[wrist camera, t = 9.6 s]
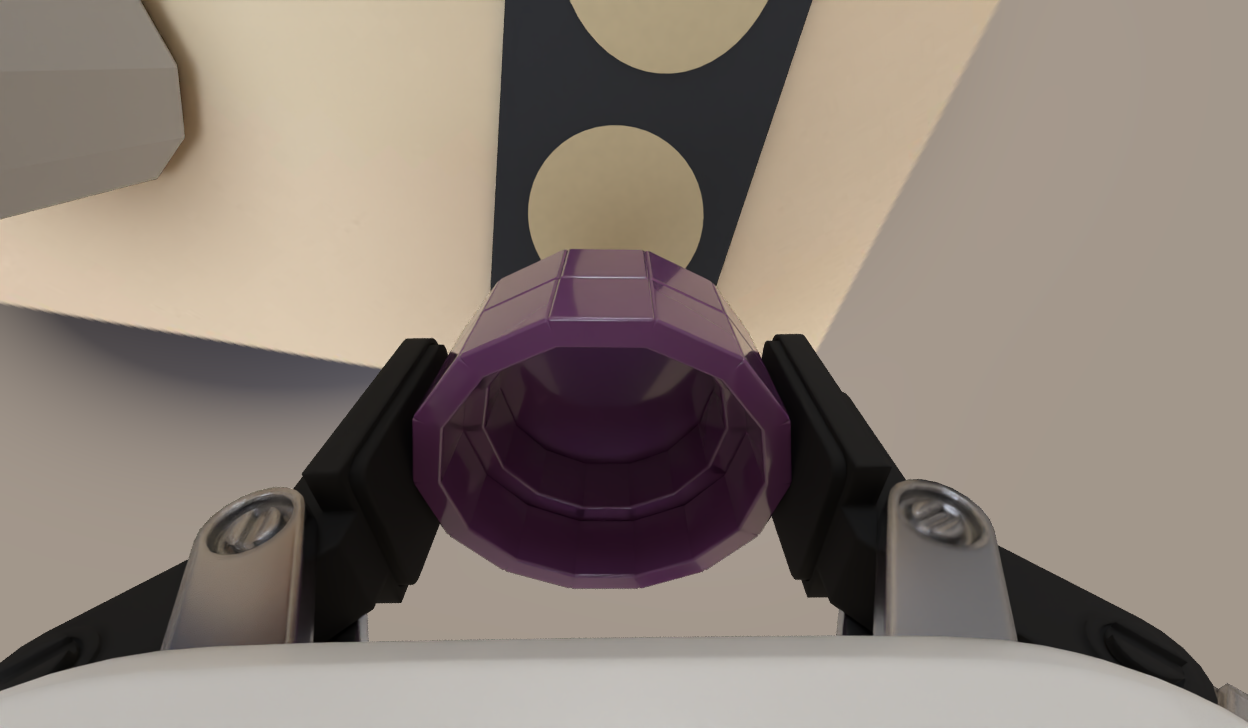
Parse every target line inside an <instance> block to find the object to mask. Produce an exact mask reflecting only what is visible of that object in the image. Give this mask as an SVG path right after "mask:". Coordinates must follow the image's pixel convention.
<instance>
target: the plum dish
mask: <svg viewBox="0 0 1248 728" xmlns="http://www.w3.org/2000/svg"><path fill="white" fill-rule="evenodd" d="M412 461H413V482H414V485H415V487H416V488H417V490H418V491H419V493H420V494H421V496H422V497H423V499H424V500H425V502H426V503H427V505H428V506H429V508H430V509H431V511H432V512H433V514H434V515H435V517H436V518H437V520H438V521H439V523H440V524H441V526H442V527H443V529H444V530H445V532H446V533H447V534H449V535H450V537H452V538H453V539H455V540H456V541H458V542H460V543H461V544H463V545H464V546H466V547H467V548H469V549H471V550H472V551H474V552H475V553H477V554H478V555H480V556H482V557H483V558H485V559H486V560H488V561H489V562H491V563H493V564H494V565H496V566H497V567H499V568H500V569H502V570H505V571H507V572H510V573H514V574H517V575H521V576H525V577H529V578H532V579H536V580H540V581H543V582H547V583H551V584H555V585H558V586H562V587H566V588H572V589H637V588H645V587H649V586H652V585H656V584H660V583H663V582H667V581H671V580H674V579H678V578H682V577H685V576H689V575H693V574H696V573H700V572H703V571H704V570H707V569H709V568H710V567H712V566H713V565H715V564H716V563H718V562H720V561H721V560H723V559H724V558H726V557H727V556H729V555H730V554H732V553H733V552H735V551H736V550H738V549H739V548H741V547H742V546H744V545H745V544H747V543H749V542H750V541H752V540H753V539H755V538H756V537H757V536H758V535H759V534H760V533H761V532H762V530H763V529H764V527H765V525H766V524H767V522H768V521H769V519H770V518H771V516H772V514H773V513H774V511H775V510H776V508H777V507H778V505H779V503H780V502H781V500H782V499H783V497H784V495H785V494H786V492H787V491H788V489H789V488H790V486H791V482H792V449H791V421H790V419H789V415H788V413H787V411H786V409H785V407H784V405H783V403H782V401H781V398H780V396H779V394H778V392H777V390H776V388H775V386H774V384H773V382H772V380H771V378H770V375H769V373H768V371H767V370H766V368H765V365H764V363H763V361H762V359H761V357H760V355H759V352H758V350H757V348H756V346H755V344H754V342H753V340H752V338H751V336H750V334H749V332H748V330H747V329H746V328H745V326H744V325H743V323H742V322H741V321H740V319H739V318H738V316H737V315H736V314H735V312H734V311H733V309H732V308H731V307H730V305H729V304H728V302H727V301H726V300H725V298H724V297H723V296H722V294H721V293H720V291H719V290H718V289H717V287H716V286H715V285H714V284H713V283H711V282H710V281H709V280H707V279H705V278H703V277H701V276H699V275H697V274H695V273H693V272H691V271H689V270H687V269H685V268H683V267H681V266H679V265H677V264H675V263H673V262H670V261H668V260H666V259H664V258H662V257H660V256H658V255H656V254H654V253H652V252H650V251H646V252H645V251H643V250H629V249H569V250H566V249H564V250H562V251H559V252H557V253H555V254H553V255H551V256H549V257H547V258H545V259H542V260H540V261H538V262H536V263H534V264H532V265H530V266H527V267H525V268H523V269H521V270H519V271H517V272H515V273H513V274H510V275H508V276H506V277H504V278H502V279H501V280H500V281H498V282H497V283H496V285H495V286H494V288H493V289H492V290H491V292H490V293H489V295H488V296H487V297H486V299H485V300H484V301H483V303H482V304H481V306H480V307H479V308H478V310H477V311H476V313H475V314H474V315H473V317H472V318H471V320H470V321H469V322H468V324H467V325H466V326H465V328H464V329H463V331H462V333H461V334H460V336H459V338H458V339H457V341H456V343H455V345H454V346H453V348H452V350H451V352H450V353H449V355H448V357H447V358H446V360H445V362H444V364H443V366H442V367H441V369H440V371H439V372H438V374H437V376H436V377H435V379H434V381H433V383H432V384H431V386H430V388H429V390H428V391H427V393H426V395H425V396H424V398H423V400H422V402H421V403H420V405H419V407H418V409H417V410H416V412H415V414H414V417H413V419H412Z"/></svg>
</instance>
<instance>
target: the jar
mask: <svg viewBox="0 0 1248 728" xmlns="http://www.w3.org/2000/svg"><path fill="white" fill-rule="evenodd" d="M184 138H185V133H184V122H183V113H182V104H181V95H180V86H179V77H178V68H177V64H176V62H175V60H174V58H173V57H172V55H171V53H170V51H169V50H168V48H167V46H166V44H165V43H164V41H163V39H162V37H161V35H160V34H159V32H158V30H157V28H156V27H155V25H154V23H153V21H152V20H151V18H150V16H149V14H148V13H147V11H146V9H145V7H144V6H143V4H142V2H141V0H0V219H3V218H7V217H11V216H15V215H19V214H23V213H27V212H30V211H34V210H38V209H42V208H46V207H50V206H54V205H57V204H61V203H65V202H69V201H73V200H77V199H81V198H84V197H88V196H92V195H96V194H100V193H104V192H108V191H112V190H115V189H119V188H123V187H127V186H131V185H135V184H139V183H142V182H146V181H150V180H154V179H157V178H158V177H159V175H160V174H161V172H162V171H163V169H164V168H165V166H166V165H167V163H168V162H169V160H170V159H171V157H172V156H173V154H174V153H175V151H176V150H177V148H178V147H179V145H180V144H181V142H182V141H183V139H184Z"/></svg>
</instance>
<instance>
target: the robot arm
mask: <svg viewBox="0 0 1248 728" xmlns="http://www.w3.org/2000/svg"><path fill="white" fill-rule="evenodd" d="M447 357H448V354H447V350H446V348H445V346H444V345H438V343H437V341H436V340H435V339H433V338H413V339H405V340H404V341H403V342H402V344H401V345H400V346H399V348H398V349H397V350H396V351H395V353H394V354H393V355H392V357H391V358H390V359H389V361H388V362H387V363H386V365H385V366H384V367H383V368H382V370H381V371H380V372H379V374H378V375H377V376H376V378H375V379H374V380H373V382H372V383H371V384H370V385H369V387H368V388H367V389H366V391H365V392H364V393H363V395H362V396H361V397H360V399H359V400H358V401H357V402H356V404H355V405H354V406H353V408H352V409H351V410H350V411H349V413H348V414H347V416H346V417H345V418H344V419H343V421H342V422H341V423H340V425H339V426H338V427H337V428H336V430H335V431H334V433H333V434H332V435H331V436H330V438H329V439H328V440H327V442H326V443H325V444H324V445H323V447H322V448H321V449H320V451H319V452H318V453H317V454H316V456H315V457H314V458H313V460H312V461H311V462H310V464H309V465H308V466H307V468H306V469H305V470H304V472H303V473H302V476H303V477H302V478H301V480H300V481H299V482H298V483H297V485H296V486H295V487H294V489H290V488H287V487H273V488H268V489H263V490H259V491H256V492H253V493H250V494H248V495H245V496H243V497H240V498H239V499H237V500H235V501H233V502H232V503H230V504H228V505H226V506H225V507H223V508H222V509H221V510H220V511H218V512H217V513H216V514H214V515H213V516H212V517H211V518H210V519H209V520H208V521H207V522H206V523H205V524H204V526H203V527H202V528H201V529H200V530H199V532H198V534H197V536H196V539H195V540H194V543H193V546H192V549H191V553H190V556H189V559H188V560H186V561H184V562H182V563H180V564H179V565H176V566H174V567H172V568H170V569H168V570H167V571H164V572H163V573H161V574H159V575H157V576H155V577H153V578H151V579H149V580H147V581H145V582H143V583H141V584H139V585H137V586H135V587H133V588H131V589H129V590H127V591H126V592H124V593H122V594H120V595H118V596H116V597H114V598H112V599H110V600H108V601H106V602H104V603H102V604H100V605H98V606H96V607H94V608H92V609H90V610H88V611H87V612H85V613H83V614H81V615H79V616H77V617H75V618H73V619H71V620H69V621H67V622H65V623H63V624H61V625H59V626H57V627H55V628H53V629H52V630H49V631H48V632H46V633H44V634H42V635H41V636H39V637H37V638H35V639H34V640H32V641H30V642H29V643H27V644H25V645H24V646H22V647H20V648H19V649H18V650H16V651H15V652H14V653H13V654H11V655H10V656H9V657H7V658H6V659H5V660H3V661H2V662H1V663H0V728H1248V694H1246V693H1244V692H1242V691H1241V690H1239V689H1237V688H1235V687H1233V686H1232V685H1230V684H1228V683H1227V684H1225V685H1224V686H1222V687H1221V688H1219V689H1218V688H1216V687H1214V686H1213V684H1212V683H1211V681H1210V680H1209V678H1208V677H1207V675H1206V674H1205V672H1204V671H1203V669H1202V668H1201V666H1200V665H1199V664H1198V663H1197V662H1196V661H1195V660H1194V659H1193V658H1192V657H1191V656H1190V655H1189V654H1188V653H1187V652H1186V651H1185V650H1184V649H1183V648H1182V647H1181V646H1180V645H1178V644H1177V643H1176V642H1175V641H1174V640H1172V639H1171V638H1170V637H1168V636H1167V635H1166V634H1165V633H1163V632H1162V631H1161V630H1159V629H1157V628H1155V627H1154V626H1152V625H1150V624H1149V623H1147V622H1145V621H1144V620H1142V619H1140V618H1139V617H1137V616H1135V615H1133V614H1131V613H1129V612H1127V611H1125V610H1123V609H1121V608H1119V607H1117V606H1115V605H1113V604H1111V603H1109V602H1107V601H1105V600H1103V599H1102V598H1100V597H1098V596H1096V595H1094V594H1092V593H1090V592H1088V591H1086V590H1084V589H1082V588H1080V587H1078V586H1076V585H1074V584H1072V583H1070V582H1068V581H1067V580H1065V579H1063V578H1061V577H1059V576H1057V575H1055V574H1053V573H1051V572H1049V571H1047V570H1045V569H1043V568H1041V567H1039V566H1037V565H1035V564H1033V563H1031V562H1029V561H1028V560H1026V559H1024V558H1022V557H1020V556H1018V555H1016V554H1014V553H1012V552H1010V551H1008V550H1006V549H1004V548H1002V547H1000V546H998V544H997V540H996V535H995V531H994V528H993V526H992V523H991V521H990V519H989V518H988V516H987V515H986V514H985V513H984V512H983V510H982V509H981V508H980V507H979V506H977V504H975V503H974V502H973V501H972V500H970V499H969V498H968V497H966V496H965V495H963V494H961V493H959V492H958V491H956V490H954V489H953V488H950V487H948V486H945V485H942V484H940V483H937V482H933V481H927V480H922V479H913V480H906V479H905V478H904V477H903V475H902V473H901V472H900V471H899V469H898V468H897V466H896V465H895V463H894V462H893V460H892V459H891V457H890V456H889V454H888V453H887V452H886V450H885V449H884V447H883V446H882V444H881V443H880V441H879V440H878V438H877V437H876V435H875V434H874V433H873V431H872V430H871V428H870V427H869V425H868V424H867V422H866V421H865V419H864V418H863V416H862V415H861V414H860V412H859V411H858V409H857V408H856V406H855V405H854V403H853V402H852V400H851V399H850V397H849V396H848V395H847V394H846V393H844V392H842V391H841V390H840V388H839V387H838V385H837V384H836V382H835V381H834V379H833V378H832V376H831V375H830V373H829V372H828V370H827V369H826V367H825V366H824V364H823V363H822V361H821V360H820V358H819V357H818V355H817V354H816V352H815V351H814V349H813V348H812V346H811V345H810V343H809V342H808V340H807V339H806V337H805V336H804V335H803V334H776V335H775V336H774V338H773V340H772V341H766V342H765V344H764V348H763V354H762V361H763V363H764V365H765V368H766V370H767V371H768V373H769V375H770V378H771V380H772V382H773V384H774V386H775V388H776V390H777V392H778V394H779V396H780V398H781V401H782V403H783V405H784V407H785V409H786V411H787V413H788V415H789V419H790V421H791V449H792V482H791V486H790V488H789V489H788V491H787V492H786V494H785V495H784V497H783V499H782V500H781V502H780V503H779V505H778V507H777V508H776V510H775V511H774V513H773V514H772V518H773V521H774V524H775V528H776V531H777V534H778V537H779V539H780V542H781V545H782V548H783V551H784V554H785V557H786V560H787V563H788V566H789V569H790V572H791V575H792V576H793V577H794V579H795V580H802V583H803V586H804V589H805V592H806V594H807V597H828V598H829V601H830V603H831V604H833V605H834V606H835V607H837V608H838V609H839V613H838V622H837V633H836V636H735V637H734V636H731V637H729V636H725V637H639V638H638V637H635V638H633V637H632V638H558V639H557V638H556V639H491V640H489V639H488V640H432V641H379V642H369V640H368V639H369V638H368V617H367V613H368V612H370V611H371V610H373V609H374V607H375V604H376V603H401V602H402V600H403V597H404V595H405V592H406V590H407V587H408V585H413V584H415V583H416V582H417V580H418V578H419V576H420V573H421V571H422V569H423V566H424V563H425V561H426V558H427V555H428V553H429V550H430V548H431V545H432V543H433V540H434V537H435V535H436V532H437V530H438V527H439V524H440V523H439V521H438V520H437V518H436V517H435V515H434V514H433V512H432V511H431V509H430V508H429V506H428V505H427V503H426V502H425V500H424V499H423V497H422V496H421V494H420V493H419V491H418V490H417V488H416V487H415V485H414V482H413V461H412V419H413V417H414V414H415V412H416V410H417V409H418V407H419V405H420V403H421V402H422V400H423V398H424V396H425V395H426V393H427V391H428V390H429V388H430V386H431V384H432V383H433V381H434V379H435V377H436V376H437V374H438V372H439V371H440V369H441V367H442V366H443V364H444V362H445V360H446V358H447Z"/></svg>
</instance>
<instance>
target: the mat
mask: <svg viewBox="0 0 1248 728" xmlns="http://www.w3.org/2000/svg"><path fill="white" fill-rule="evenodd" d="M811 3H812V0H505V15H504V34H503V54H502V74H501V94H500V113H499V133H498V153H497V172H496V192H495V212H494V232H493V251H492V271H491V290H492V289H493V288H494V286H495V285H496V283H497V282H498V281H500V280H501V279H502V278H504V277H506V276H508V275H510V274H513V273H515V272H517V271H519V270H521V269H523V268H525V267H527V266H530V265H532V264H534V263H536V262H538V261H540V260H542V259H545V258H547V257H549V256H551V255H553V254H555V253H557V252H559V251H562V250H564V249H566V250H569V249H629V250H643V251H645V252H646V251H650V252H652V253H654V254H656V255H658V256H660V257H662V258H664V259H666V260H668V261H670V262H673V263H675V264H677V265H679V266H681V267H683V268H685V269H687V270H689V271H691V272H693V273H695V274H697V275H699V276H701V277H703V278H705V279H707V280H709V281H710V282H711V283H713V284H714V285H715V286H716V285H717V282H718V279H719V276H720V273H721V270H722V267H723V264H724V261H725V258H726V255H727V252H728V249H729V246H730V243H731V240H732V237H733V234H734V231H735V228H736V225H737V222H738V219H739V216H740V213H741V210H742V207H743V205H744V202H745V199H746V196H747V193H748V190H749V187H750V184H751V181H752V178H753V175H754V172H755V169H756V166H757V163H758V160H759V157H760V154H761V151H762V148H763V145H764V142H765V139H766V136H767V133H768V130H769V127H770V124H771V121H772V119H773V116H774V113H775V110H776V107H777V104H778V101H779V98H780V95H781V92H782V89H783V86H784V83H785V80H786V77H787V74H788V71H789V68H790V65H791V62H792V59H793V56H794V53H795V50H796V47H797V44H798V41H799V38H800V35H801V33H802V30H803V27H804V24H805V21H806V18H807V15H808V12H809V9H810V6H811ZM490 292H491V291H490Z"/></svg>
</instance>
